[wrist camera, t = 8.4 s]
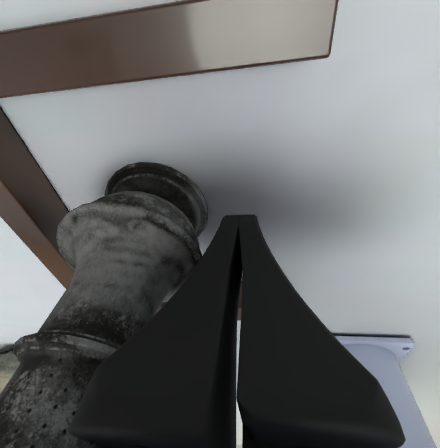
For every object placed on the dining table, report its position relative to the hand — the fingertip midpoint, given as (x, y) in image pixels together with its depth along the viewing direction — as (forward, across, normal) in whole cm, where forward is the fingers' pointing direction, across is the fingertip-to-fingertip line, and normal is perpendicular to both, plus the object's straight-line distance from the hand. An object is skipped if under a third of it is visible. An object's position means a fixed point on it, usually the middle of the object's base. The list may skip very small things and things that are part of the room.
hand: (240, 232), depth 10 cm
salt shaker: (+2, +4, 0) cm, 5 cm away
